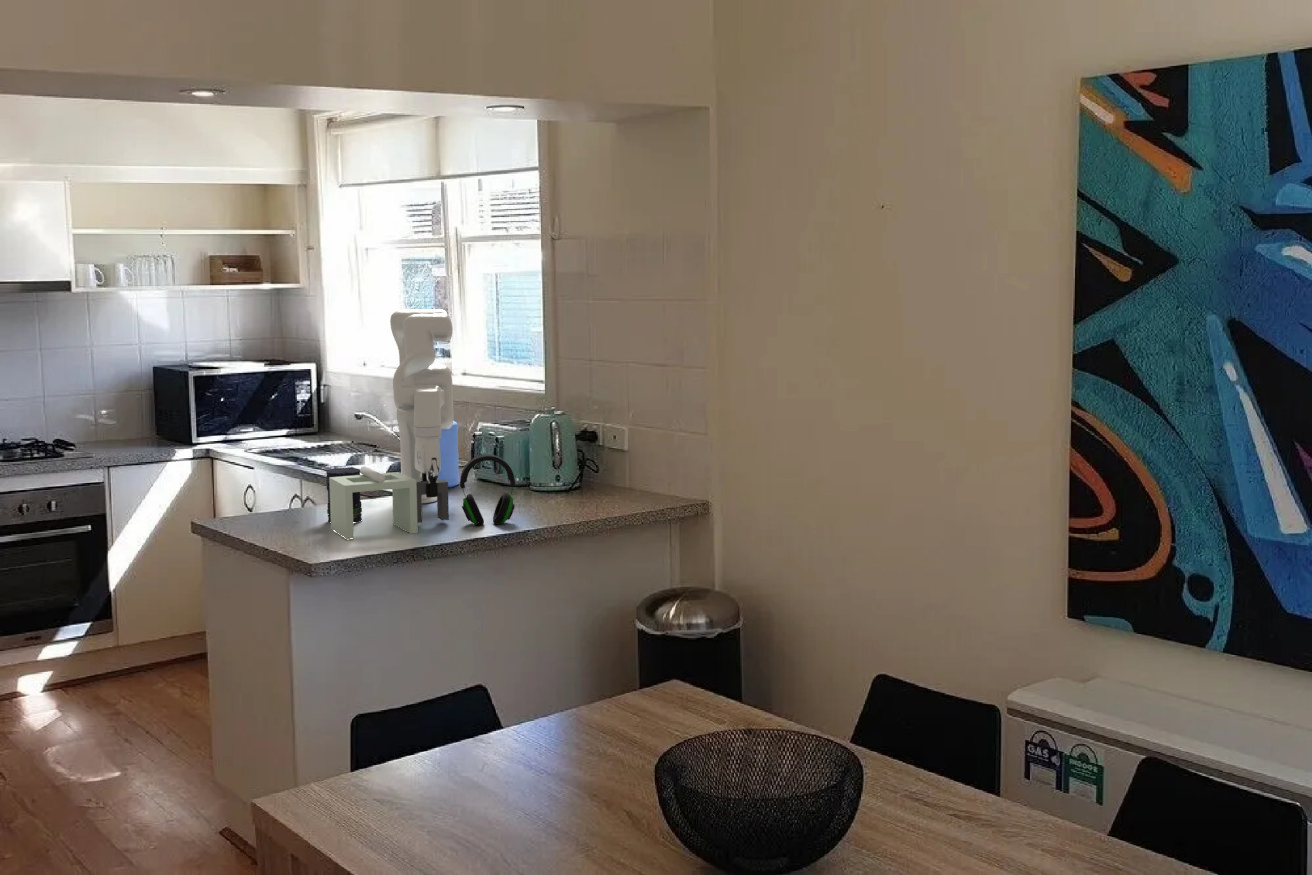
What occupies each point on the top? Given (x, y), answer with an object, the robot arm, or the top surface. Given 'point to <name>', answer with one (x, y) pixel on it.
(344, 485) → the shelf
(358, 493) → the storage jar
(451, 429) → the light blue cylinder
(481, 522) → the headphones
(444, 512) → the grey bridge arch
